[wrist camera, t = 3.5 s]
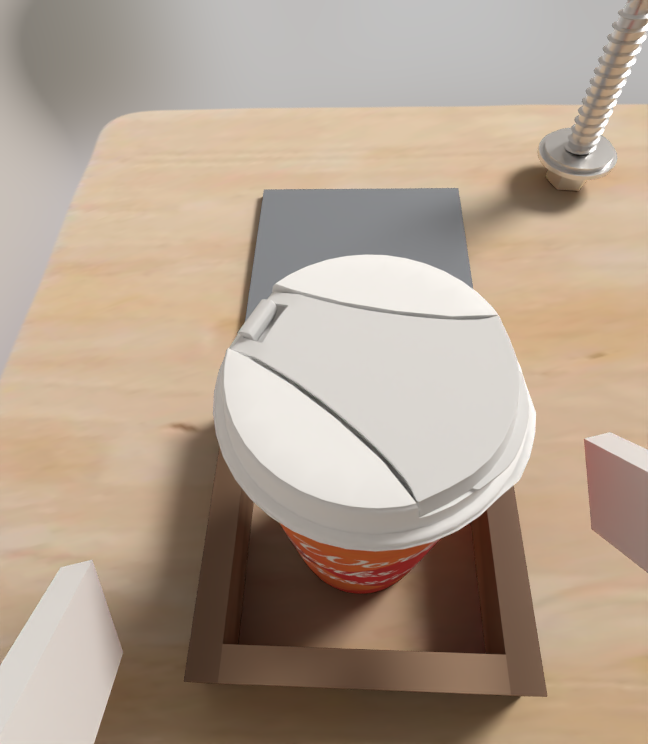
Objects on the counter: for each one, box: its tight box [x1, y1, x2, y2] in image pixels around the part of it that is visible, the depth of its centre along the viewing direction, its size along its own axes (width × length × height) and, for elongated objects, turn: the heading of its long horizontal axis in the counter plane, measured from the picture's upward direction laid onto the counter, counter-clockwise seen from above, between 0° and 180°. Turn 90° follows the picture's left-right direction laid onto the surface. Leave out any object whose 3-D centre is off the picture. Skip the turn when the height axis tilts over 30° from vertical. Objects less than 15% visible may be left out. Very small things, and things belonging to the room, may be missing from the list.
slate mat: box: [245, 188, 473, 322], centre depth 32 cm, size 13×13×1 cm
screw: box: [537, 0, 648, 191], centre depth 30 cm, size 13×5×5 cm
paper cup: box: [213, 255, 536, 594], centre depth 18 cm, size 8×8×14 cm
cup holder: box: [184, 446, 547, 697], centre depth 22 cm, size 12×12×3 cm
